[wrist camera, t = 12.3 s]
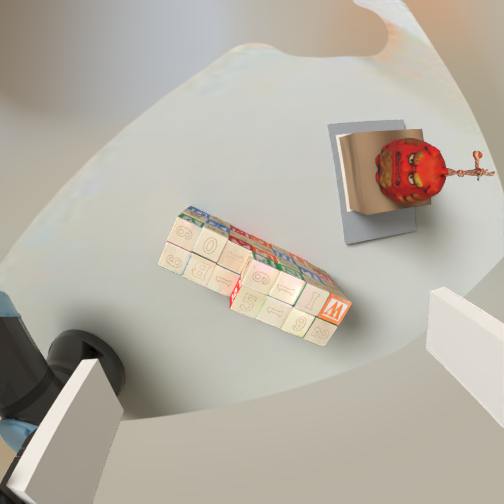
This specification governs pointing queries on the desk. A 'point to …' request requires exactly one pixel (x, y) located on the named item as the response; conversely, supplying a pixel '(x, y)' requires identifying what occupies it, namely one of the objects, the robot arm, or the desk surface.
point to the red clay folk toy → (415, 170)
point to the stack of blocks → (255, 276)
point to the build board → (353, 221)
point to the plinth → (370, 169)
